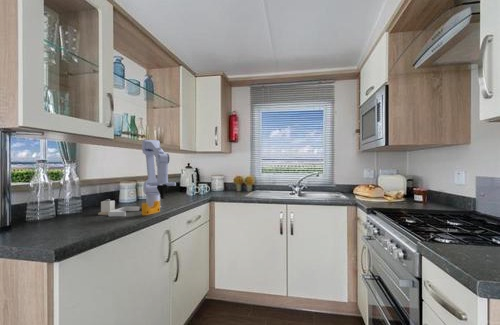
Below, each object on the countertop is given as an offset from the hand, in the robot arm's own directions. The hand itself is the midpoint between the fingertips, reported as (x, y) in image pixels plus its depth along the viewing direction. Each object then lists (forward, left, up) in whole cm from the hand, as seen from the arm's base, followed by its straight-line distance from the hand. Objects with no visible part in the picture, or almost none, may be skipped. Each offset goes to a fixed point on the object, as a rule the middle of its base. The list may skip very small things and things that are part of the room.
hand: (162, 198), depth 141 cm
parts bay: (0, -21, -8) cm, 22 cm away
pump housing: (0, -31, -8) cm, 32 cm away
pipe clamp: (0, -7, -9) cm, 11 cm away
